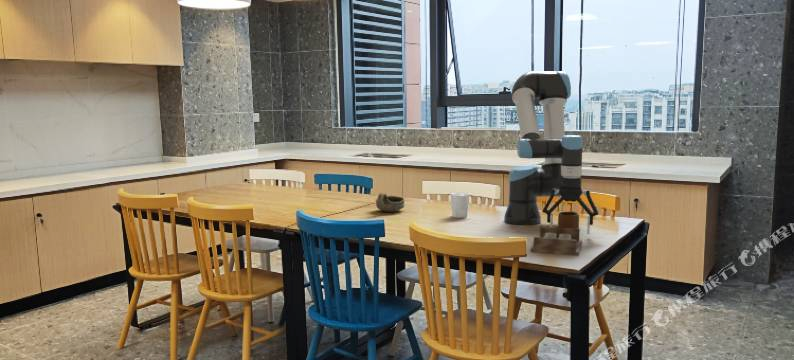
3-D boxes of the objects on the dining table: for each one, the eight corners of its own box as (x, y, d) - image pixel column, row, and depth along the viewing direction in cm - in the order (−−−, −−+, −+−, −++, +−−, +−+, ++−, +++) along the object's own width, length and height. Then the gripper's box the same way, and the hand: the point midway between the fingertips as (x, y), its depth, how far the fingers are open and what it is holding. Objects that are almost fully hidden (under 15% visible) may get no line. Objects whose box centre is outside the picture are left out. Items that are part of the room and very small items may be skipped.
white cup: (448, 217, 278) (448, 195, 277) (453, 214, 286) (453, 192, 284) (465, 218, 275) (465, 196, 274) (470, 215, 283) (470, 193, 281)
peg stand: (530, 251, 219) (531, 237, 218) (537, 239, 237) (537, 226, 236) (578, 255, 214) (579, 240, 213) (582, 242, 231) (582, 228, 231)
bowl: (410, 209, 297) (410, 188, 296) (392, 216, 282) (392, 194, 280) (384, 207, 303) (384, 187, 302) (366, 214, 288) (365, 192, 287)
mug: (563, 232, 247) (563, 208, 246) (583, 234, 243) (583, 210, 242) (555, 239, 237) (555, 214, 235) (575, 241, 233) (576, 216, 232)
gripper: (535, 176, 237) (534, 232, 240) (605, 179, 229) (603, 236, 232) (538, 174, 244) (537, 228, 247) (606, 176, 236) (604, 232, 239)
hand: (569, 232), depth 240 cm, fingers open, 13 cm apart
